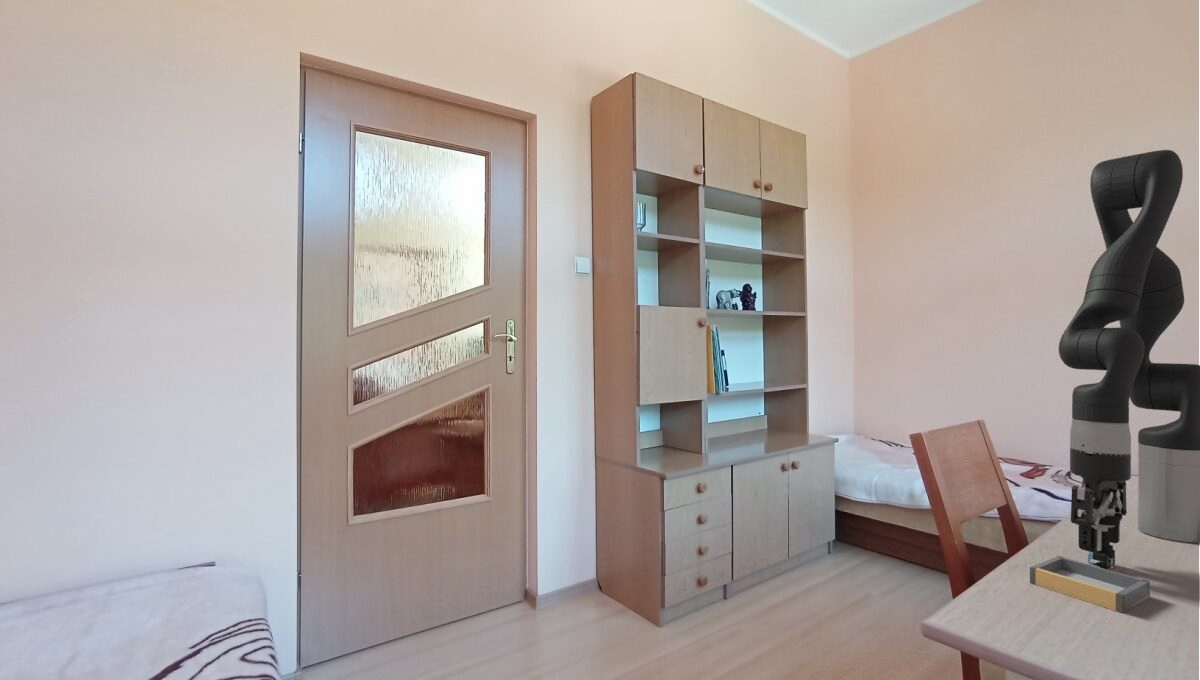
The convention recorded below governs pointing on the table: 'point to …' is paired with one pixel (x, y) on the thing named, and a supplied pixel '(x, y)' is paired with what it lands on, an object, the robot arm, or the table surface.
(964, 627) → the table surface
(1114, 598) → the tray
